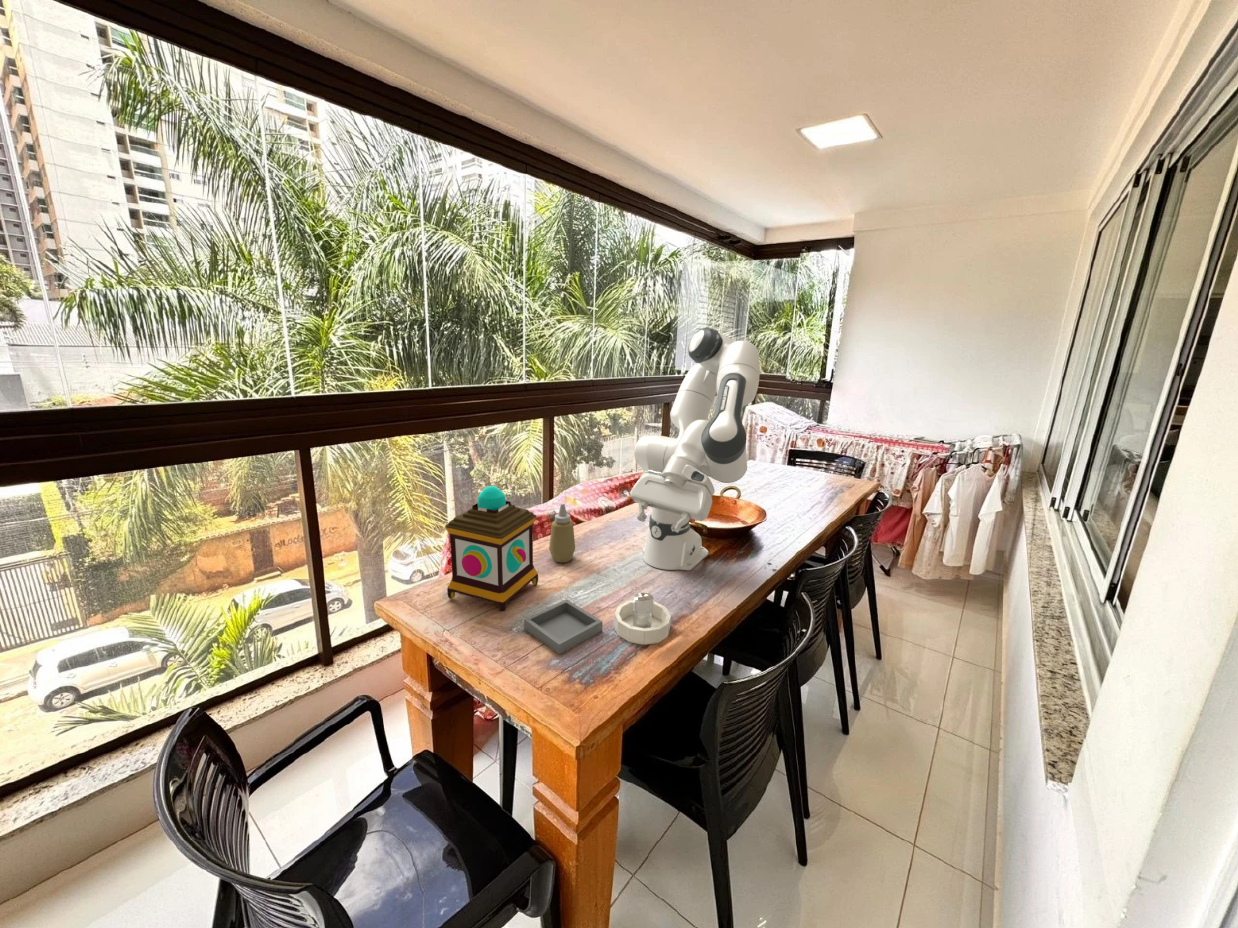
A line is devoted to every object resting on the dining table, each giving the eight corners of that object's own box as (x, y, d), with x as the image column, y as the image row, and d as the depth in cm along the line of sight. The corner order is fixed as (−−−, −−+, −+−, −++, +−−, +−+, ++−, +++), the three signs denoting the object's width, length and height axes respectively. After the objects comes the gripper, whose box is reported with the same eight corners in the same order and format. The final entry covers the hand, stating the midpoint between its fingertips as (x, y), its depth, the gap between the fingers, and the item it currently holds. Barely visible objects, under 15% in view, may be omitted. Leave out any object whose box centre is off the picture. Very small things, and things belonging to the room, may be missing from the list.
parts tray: (566, 611, 127) (566, 599, 126) (602, 634, 118) (602, 621, 117) (524, 632, 117) (523, 619, 117) (559, 658, 109) (559, 644, 108)
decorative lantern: (486, 568, 147) (482, 470, 139) (545, 582, 140) (545, 481, 132) (439, 601, 129) (432, 491, 121) (504, 619, 122) (501, 504, 114)
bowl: (639, 609, 129) (640, 594, 127) (679, 631, 120) (681, 615, 119) (603, 629, 120) (604, 613, 118) (644, 655, 111) (645, 637, 110)
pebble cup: (641, 619, 123) (643, 587, 120) (655, 627, 120) (657, 594, 117) (628, 626, 119) (630, 593, 117) (642, 635, 116) (644, 601, 114)
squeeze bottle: (557, 567, 149) (557, 510, 144) (544, 556, 156) (544, 502, 151) (580, 560, 154) (581, 506, 149) (566, 550, 160) (567, 498, 155)
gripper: (640, 461, 126) (616, 508, 121) (714, 478, 115) (691, 530, 109) (649, 475, 131) (625, 520, 126) (721, 492, 119) (698, 543, 114)
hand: (656, 525), depth 117 cm, fingers open, 8 cm apart
